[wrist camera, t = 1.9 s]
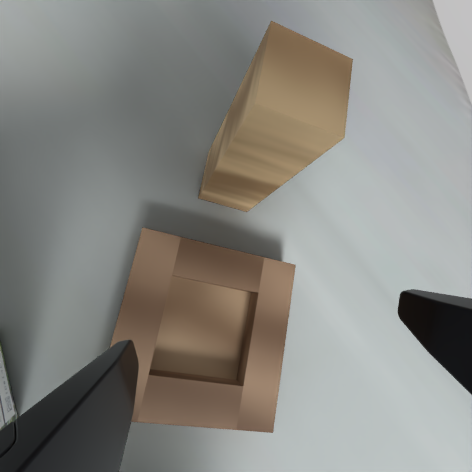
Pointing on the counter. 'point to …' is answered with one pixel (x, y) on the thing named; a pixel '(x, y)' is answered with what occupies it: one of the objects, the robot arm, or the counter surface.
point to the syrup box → (5, 396)
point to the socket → (205, 333)
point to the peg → (278, 119)
